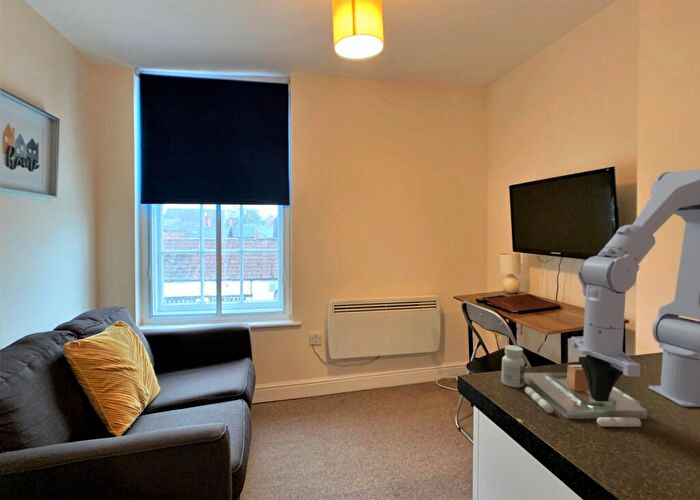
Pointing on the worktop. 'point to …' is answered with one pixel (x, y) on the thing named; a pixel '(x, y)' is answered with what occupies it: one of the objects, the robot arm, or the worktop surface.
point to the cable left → (618, 422)
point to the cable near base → (626, 396)
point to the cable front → (539, 400)
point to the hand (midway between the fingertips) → (599, 399)
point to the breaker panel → (580, 399)
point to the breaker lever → (577, 378)
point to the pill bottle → (513, 366)
